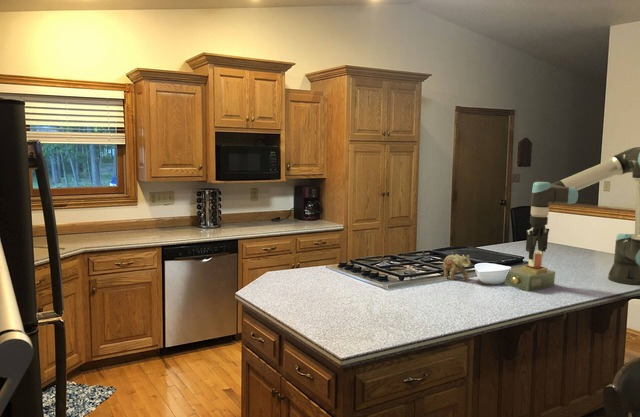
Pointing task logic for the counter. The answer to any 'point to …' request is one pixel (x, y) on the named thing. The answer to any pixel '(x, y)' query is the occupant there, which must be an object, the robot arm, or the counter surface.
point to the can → (537, 260)
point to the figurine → (456, 265)
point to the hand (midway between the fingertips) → (535, 265)
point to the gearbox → (530, 278)
